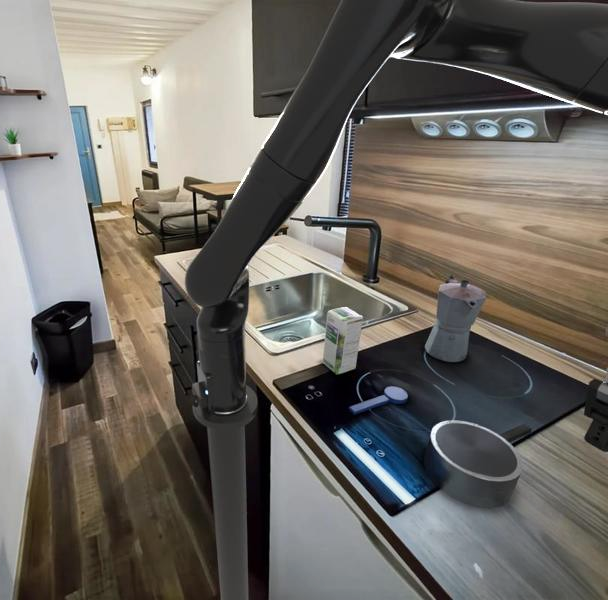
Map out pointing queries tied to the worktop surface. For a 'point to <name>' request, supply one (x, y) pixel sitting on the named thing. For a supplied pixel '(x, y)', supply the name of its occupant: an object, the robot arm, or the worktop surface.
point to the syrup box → (342, 339)
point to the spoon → (381, 400)
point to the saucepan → (474, 462)
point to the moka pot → (454, 319)
